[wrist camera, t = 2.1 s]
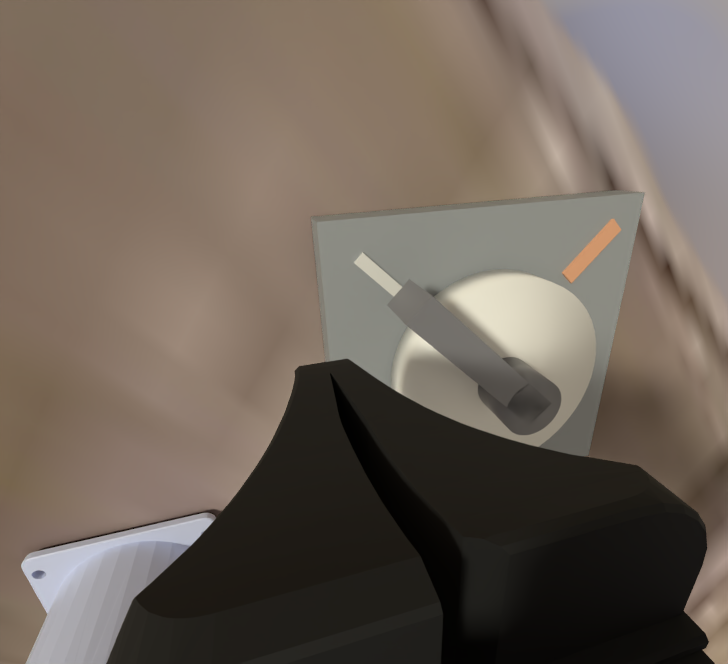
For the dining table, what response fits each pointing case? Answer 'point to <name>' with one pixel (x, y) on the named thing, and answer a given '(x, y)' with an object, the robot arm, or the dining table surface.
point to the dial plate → (470, 256)
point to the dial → (495, 353)
